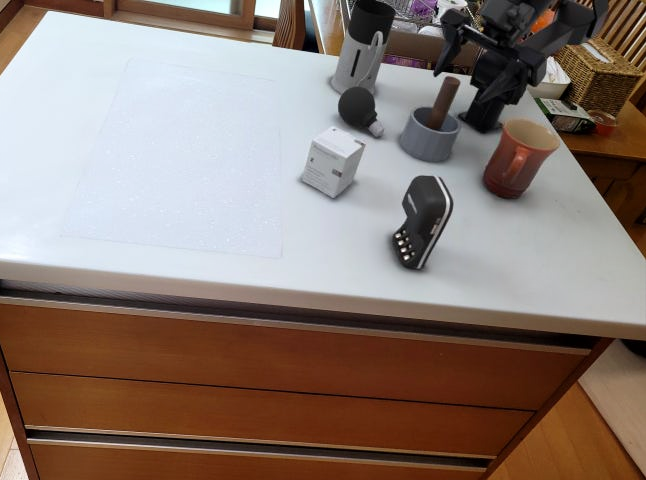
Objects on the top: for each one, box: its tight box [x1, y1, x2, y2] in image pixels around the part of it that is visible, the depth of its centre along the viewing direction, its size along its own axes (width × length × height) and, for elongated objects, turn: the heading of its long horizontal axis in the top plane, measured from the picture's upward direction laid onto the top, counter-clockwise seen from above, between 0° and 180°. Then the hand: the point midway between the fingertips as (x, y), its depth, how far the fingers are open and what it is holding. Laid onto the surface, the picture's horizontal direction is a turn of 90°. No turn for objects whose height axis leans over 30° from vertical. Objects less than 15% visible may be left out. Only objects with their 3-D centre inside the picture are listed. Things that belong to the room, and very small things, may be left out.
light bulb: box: [337, 87, 386, 138], centre depth 95 cm, size 6×6×10 cm
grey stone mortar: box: [399, 105, 462, 163], centre depth 94 cm, size 9×9×6 cm
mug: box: [481, 117, 561, 199], centre depth 86 cm, size 12×9×10 cm
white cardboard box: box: [301, 125, 367, 199], centre depth 81 cm, size 6×6×7 cm
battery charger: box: [391, 174, 454, 269], centre depth 71 cm, size 7×4×11 cm, turn 7°
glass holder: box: [330, 0, 397, 96], centre depth 100 cm, size 9×14×15 cm, turn 2°
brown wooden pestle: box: [422, 75, 462, 132], centre depth 91 cm, size 4×4×12 cm
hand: (456, 88), depth 89 cm, fingers open, 9 cm apart
